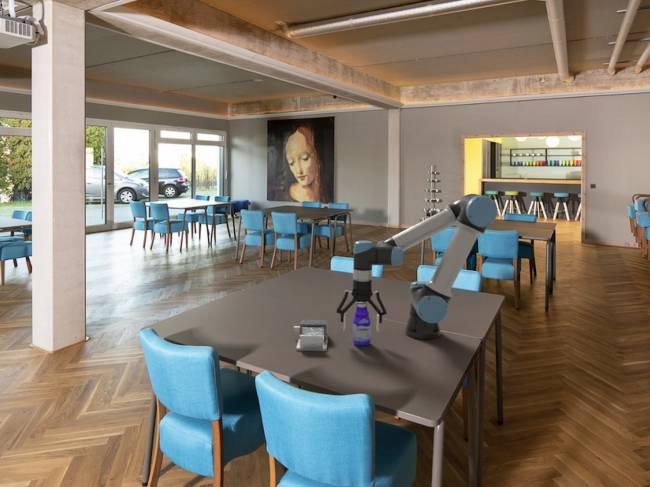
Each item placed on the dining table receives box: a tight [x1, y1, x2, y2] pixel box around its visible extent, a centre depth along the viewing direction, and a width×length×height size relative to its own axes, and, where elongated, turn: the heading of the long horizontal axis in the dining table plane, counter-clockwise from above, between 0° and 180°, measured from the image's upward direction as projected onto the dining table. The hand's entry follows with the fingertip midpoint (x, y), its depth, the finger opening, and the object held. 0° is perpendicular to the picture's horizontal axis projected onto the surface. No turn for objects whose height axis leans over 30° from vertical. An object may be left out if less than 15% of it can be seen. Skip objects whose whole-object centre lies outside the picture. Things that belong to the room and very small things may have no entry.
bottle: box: [352, 301, 372, 347], centre depth 197 cm, size 7×6×17 cm
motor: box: [293, 319, 329, 340], centre depth 205 cm, size 14×6×7 cm, turn 88°
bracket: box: [295, 327, 329, 352], centre depth 196 cm, size 12×11×6 cm
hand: (360, 330), depth 198 cm, fingers open, 13 cm apart
